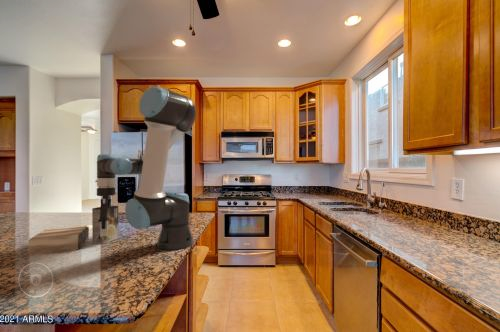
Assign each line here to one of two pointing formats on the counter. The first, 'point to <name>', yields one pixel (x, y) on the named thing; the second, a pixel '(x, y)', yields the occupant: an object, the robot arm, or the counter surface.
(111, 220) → the coffee box
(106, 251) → the counter surface
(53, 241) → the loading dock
